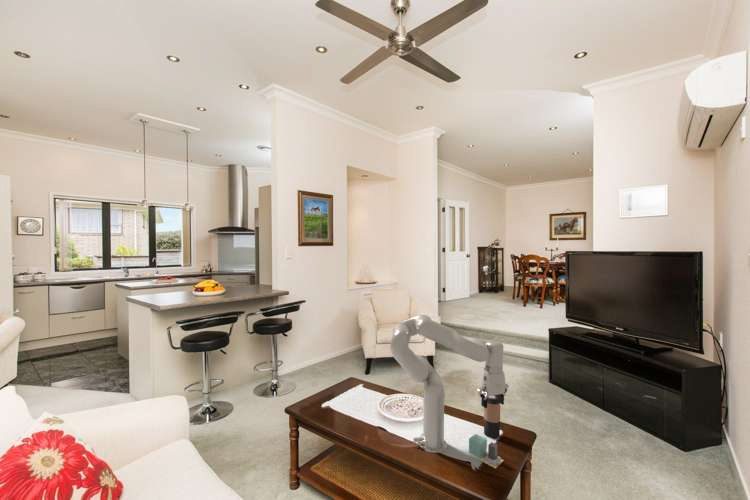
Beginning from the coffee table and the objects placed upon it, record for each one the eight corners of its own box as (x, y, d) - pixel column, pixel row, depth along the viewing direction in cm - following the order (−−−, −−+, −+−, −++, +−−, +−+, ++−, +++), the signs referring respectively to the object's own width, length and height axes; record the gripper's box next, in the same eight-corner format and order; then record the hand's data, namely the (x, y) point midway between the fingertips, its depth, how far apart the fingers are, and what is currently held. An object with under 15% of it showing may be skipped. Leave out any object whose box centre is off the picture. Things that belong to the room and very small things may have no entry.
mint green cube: (480, 458, 148) (480, 444, 148) (468, 452, 152) (469, 438, 152) (486, 453, 152) (486, 438, 152) (475, 447, 156) (475, 433, 156)
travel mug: (501, 441, 162) (501, 400, 162) (484, 439, 164) (485, 398, 163) (498, 432, 170) (499, 393, 169) (482, 430, 171) (483, 391, 171)
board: (495, 470, 142) (495, 468, 142) (466, 455, 152) (466, 453, 152) (503, 461, 147) (503, 460, 147) (475, 447, 157) (475, 446, 157)
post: (495, 465, 144) (495, 449, 143) (484, 460, 147) (485, 444, 147) (500, 460, 147) (500, 445, 147) (490, 455, 150) (490, 440, 150)
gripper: (484, 374, 149) (483, 412, 149) (514, 369, 155) (513, 405, 156) (473, 368, 155) (472, 404, 156) (502, 363, 162) (501, 398, 163)
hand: (492, 405), depth 156 cm, fingers open, 9 cm apart
